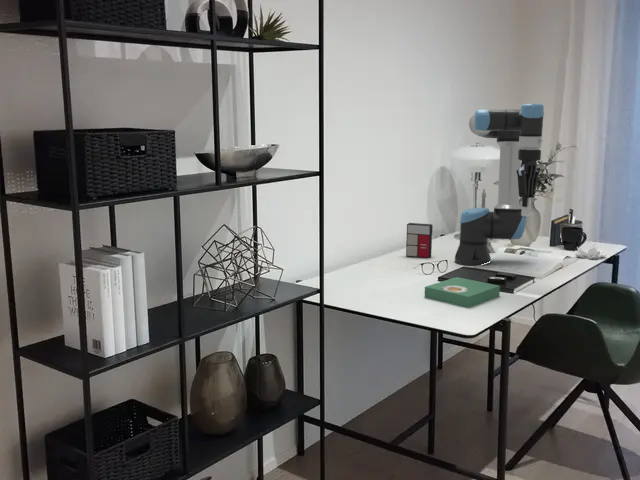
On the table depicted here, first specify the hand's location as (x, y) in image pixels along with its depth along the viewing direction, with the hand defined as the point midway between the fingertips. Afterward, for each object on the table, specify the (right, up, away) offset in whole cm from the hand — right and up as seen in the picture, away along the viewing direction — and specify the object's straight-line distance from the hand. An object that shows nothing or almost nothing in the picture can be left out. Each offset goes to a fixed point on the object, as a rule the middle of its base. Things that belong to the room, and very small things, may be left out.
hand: (525, 215), depth 235 cm
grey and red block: (-28, -16, +65) cm, 73 cm away
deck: (-23, -29, 0) cm, 37 cm away
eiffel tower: (+2, -15, +74) cm, 75 cm away
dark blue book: (+43, -13, +85) cm, 96 cm away
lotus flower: (+44, -19, +54) cm, 72 cm away
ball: (-26, -28, -4) cm, 38 cm away
